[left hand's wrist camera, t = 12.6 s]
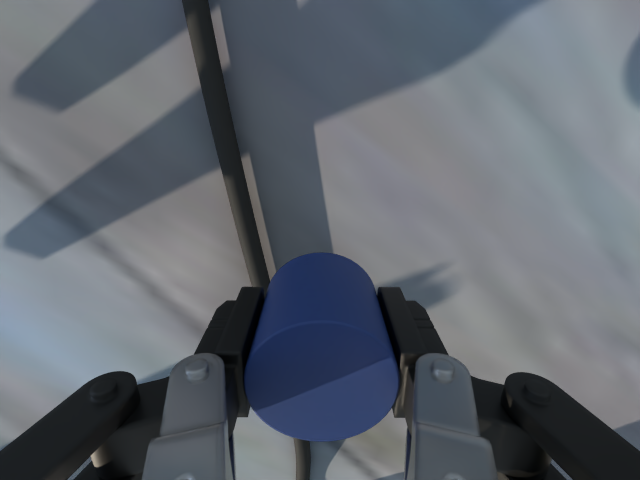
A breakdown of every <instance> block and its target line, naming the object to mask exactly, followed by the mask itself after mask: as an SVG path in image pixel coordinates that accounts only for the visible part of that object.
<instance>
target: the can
mask: <svg viewBox="0 0 640 480" xmlns="http://www.w3.org/2000/svg"><path fill="white" fill-rule="evenodd" d="M399 384H400V377H399V368H398V365H397V362H396V358H395V355H394V351H393V348H392V345H391V341H390V338H389V335H388V331H387V328H386V325H385V321H384V318H383V315H382V311H381V308H380V304H379V301H378V298H377V294H376V291H375V288H374V285H373V283H372V280H371V279H370V277H369V276H368V274H367V273H366V272H365V271H364V270H363V268H361V267H360V266H359V265H358V264H356V263H355V262H353V261H352V260H350V259H348V258H346V257H343V256H340V255H337V254H332V253H311V254H306V255H303V256H299V257H297V258H295V259H293V260H291V261H289V262H288V263H286V264H285V265H284V266H282V267H281V268H280V269H279V270H278V271H277V272H276V274H275V275H274V276H273V278H272V280H271V282H270V284H269V286H268V289H267V293H266V296H265V300H264V303H263V307H262V310H261V314H260V317H259V321H258V324H257V328H256V331H255V335H254V338H253V342H252V345H251V349H250V352H249V356H248V359H247V363H246V366H245V371H244V388H245V394H246V396H247V399H248V402H249V404H250V405H251V407H252V409H253V410H254V412H255V413H256V414H257V415H258V416H259V417H260V418H261V419H262V421H264V422H265V423H266V424H267V425H269V426H270V427H272V428H273V429H275V430H277V431H279V432H281V433H283V434H285V435H288V436H291V437H294V438H298V439H302V440H308V441H320V442H322V441H335V440H341V439H346V438H350V437H353V436H356V435H358V434H360V433H363V432H365V431H367V430H368V429H370V428H372V427H373V426H374V425H376V424H377V423H378V422H380V421H381V420H382V419H383V418H384V417H385V416H386V415H387V413H388V412H389V411H390V410H391V408H392V406H393V404H394V403H395V400H396V398H397V395H398V391H399Z"/></svg>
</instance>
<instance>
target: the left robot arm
mask: <svg viewBox="0 0 640 480" xmlns="http://www.w3.org/2000/svg"><path fill="white" fill-rule="evenodd" d="M182 3H183V7H184V12H185V16H186V21H187V26H188V30H189V35H190V39H191V44H192V48H193V53H194V57H195V62H196V66H197V70H198V75H199V79H200V83H201V88H202V92H203V96H204V101H205V105H206V109H207V113H208V117H209V121H210V125H211V130H212V134H213V138H214V142H215V146H216V150H217V154H218V158H219V162H220V166H221V170H222V174H223V178H224V182H225V186H226V189H227V193H228V197H229V201H230V205H231V209H232V213H233V217H234V221H235V225H236V229H237V232H238V236H239V240H240V244H241V248H242V251H243V255H244V259H245V262H246V266H247V270H248V273H249V277H250V281H251V284H252V287H242V288H241V290H240V293H239V295H238V297H237V300H236V301H226V302H224V303H223V304H222V305H221V306H220V307H218V308H217V310H216V311H215V313H214V315H213V317H212V320H211V321H210V323H209V325H208V328H207V329H206V331H205V333H204V335H203V337H202V339H201V341H200V343H199V345H198V347H197V349H196V351H195V353H194V355H192V356H189V357H187V358H185V359H183V360H181V361H180V362H179V363H178V364H176V365H175V367H174V368H173V369H172V371H171V373H170V376H169V377H166V378H163V379H160V380H155V381H151V382H147V383H143V384H139V385H137V382H136V379H135V377H134V376H133V375H132V374H131V373H128V372H124V371H117V372H110V373H106V374H103V375H101V376H98V377H96V378H94V379H92V380H91V381H89V382H87V383H86V384H85V385H83V386H82V387H81V388H80V389H78V390H77V391H76V392H74V393H73V394H72V395H71V396H69V397H68V398H67V399H66V400H64V401H63V402H62V403H61V404H59V405H58V406H57V407H56V408H54V409H53V410H52V411H50V412H49V413H48V414H47V415H45V416H44V417H43V418H42V419H40V420H39V421H38V422H37V423H35V424H34V425H33V426H32V427H30V428H29V429H28V430H26V431H25V432H24V433H23V434H21V435H20V436H19V437H18V438H16V439H15V440H14V441H13V442H11V443H10V444H9V445H8V446H6V447H5V448H4V449H2V450H1V451H0V480H67V479H68V478H69V477H70V476H71V475H72V474H73V473H74V472H75V471H76V470H77V469H78V468H79V467H80V466H81V465H82V464H83V463H84V462H85V461H86V460H87V459H88V458H89V457H91V459H92V461H91V462H90V463H89V464H88V465H87V466H86V467H85V468H84V469H83V470H82V471H81V472H80V473H79V475H78V476H77V477H76V478H75V479H74V480H236V468H235V449H234V435H233V430H234V427H235V423H236V419H237V417H248V414H249V409H250V404H249V402H248V399H247V396H246V394H245V388H244V371H245V366H246V363H247V359H248V356H249V352H250V349H251V345H252V342H253V338H254V335H255V331H256V328H257V324H258V321H259V317H260V314H261V310H262V307H263V303H264V300H265V296H266V293H267V289H268V286H269V284H270V279H269V275H268V271H267V267H266V263H265V259H264V255H263V251H262V247H261V243H260V239H259V235H258V231H257V226H256V222H255V218H254V214H253V209H252V205H251V201H250V196H249V192H248V188H247V183H246V179H245V175H244V170H243V166H242V161H241V157H240V153H239V148H238V144H237V139H236V135H235V130H234V126H233V121H232V117H231V112H230V108H229V103H228V98H227V94H226V89H225V84H224V79H223V74H222V70H221V65H220V60H219V55H218V50H217V45H216V40H215V35H214V30H213V25H212V19H211V14H210V9H209V4H208V0H182ZM377 298H378V301H379V304H380V308H381V311H382V315H383V318H384V321H385V325H386V328H387V331H388V335H389V338H390V341H391V345H392V348H393V351H394V355H395V358H396V362H397V365H398V368H399V377H400V384H399V391H398V395H397V398H396V400H395V403H394V404H393V406H392V409H393V413H394V418H405V419H406V422H407V426H408V427H407V435H406V449H405V468H404V480H566V479H565V478H564V477H563V476H562V475H561V473H560V472H559V471H558V470H557V469H556V468H555V467H554V466H553V465H552V464H551V460H552V459H553V460H554V461H555V462H556V463H557V464H558V465H559V466H560V467H561V468H562V469H563V470H564V471H565V472H566V473H567V474H568V475H569V476H570V477H571V478H572V479H573V480H640V451H639V450H638V449H636V448H635V447H634V446H632V445H631V444H630V443H629V442H627V441H626V440H625V439H624V438H622V437H621V436H620V435H619V434H617V433H616V432H615V431H614V430H612V429H611V428H610V427H608V426H607V425H606V424H605V423H603V422H602V421H601V420H600V419H598V418H597V417H596V416H595V415H593V414H592V413H591V412H590V411H588V410H587V409H586V408H584V407H583V406H582V405H581V404H579V403H578V402H577V401H576V400H574V399H573V398H572V397H571V396H569V395H568V394H567V393H566V392H564V391H563V390H562V389H561V388H559V387H558V386H557V385H555V384H554V383H552V382H551V381H549V380H547V379H545V378H543V377H541V376H538V375H535V374H531V373H525V372H517V373H513V374H510V375H509V376H508V377H507V378H506V380H505V384H504V385H502V384H498V383H494V382H489V381H485V380H481V379H478V378H475V377H472V376H470V373H469V371H468V369H467V368H466V367H465V365H464V364H462V363H461V362H460V361H459V360H457V359H455V358H453V357H451V356H449V355H448V353H447V351H446V349H445V347H444V345H443V343H442V341H441V339H440V337H439V335H438V333H437V331H436V329H434V326H433V324H432V322H431V320H430V318H429V316H428V314H427V312H426V310H425V309H424V308H423V307H422V306H421V305H419V304H418V303H417V302H416V301H406V300H405V298H404V296H403V293H402V291H401V289H400V287H379V288H378V293H377ZM294 443H295V451H296V480H309V477H310V443H309V441H308V440H302V439H298V438H294Z"/></svg>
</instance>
